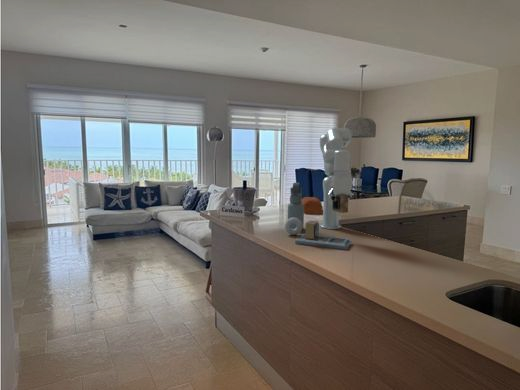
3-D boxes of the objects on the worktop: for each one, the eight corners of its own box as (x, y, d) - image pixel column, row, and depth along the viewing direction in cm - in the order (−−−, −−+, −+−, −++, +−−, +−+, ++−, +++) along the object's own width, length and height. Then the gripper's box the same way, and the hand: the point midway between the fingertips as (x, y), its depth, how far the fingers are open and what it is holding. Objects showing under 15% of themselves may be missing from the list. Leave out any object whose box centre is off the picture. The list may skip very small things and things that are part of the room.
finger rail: (302, 238, 190) (303, 219, 189) (351, 243, 180) (352, 223, 178) (295, 243, 179) (295, 223, 178) (346, 249, 168) (347, 228, 167)
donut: (284, 235, 196) (285, 218, 194) (284, 234, 199) (284, 216, 198) (302, 235, 196) (303, 218, 195) (301, 234, 199) (302, 217, 198)
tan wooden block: (339, 212, 182) (340, 195, 181) (331, 210, 190) (332, 193, 188) (347, 212, 184) (348, 195, 183) (339, 209, 191) (340, 193, 190)
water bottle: (302, 231, 207) (303, 184, 203) (286, 230, 209) (287, 183, 205) (304, 227, 217) (305, 182, 213) (288, 226, 219) (289, 182, 215)
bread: (302, 214, 263) (302, 200, 262) (299, 208, 289) (300, 195, 288) (323, 214, 262) (323, 200, 261) (318, 208, 289) (319, 196, 288)
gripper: (350, 173, 191) (349, 206, 193) (323, 173, 185) (322, 207, 187) (358, 174, 184) (357, 208, 186) (330, 174, 178) (329, 210, 180)
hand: (339, 207), depth 187 cm, fingers closed on tan wooden block, 5 cm apart
